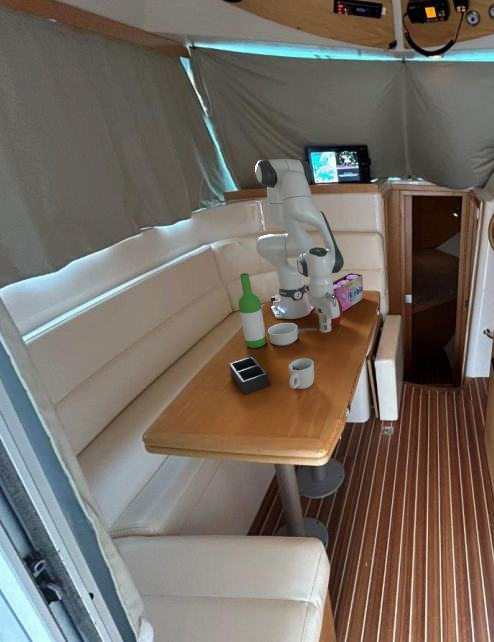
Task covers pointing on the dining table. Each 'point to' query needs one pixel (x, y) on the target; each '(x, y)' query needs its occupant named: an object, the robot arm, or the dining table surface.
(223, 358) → the dining table surface
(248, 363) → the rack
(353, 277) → the gum box
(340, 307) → the apple
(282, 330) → the saucepan
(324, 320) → the beer can
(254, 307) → the bottle
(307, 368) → the cup
